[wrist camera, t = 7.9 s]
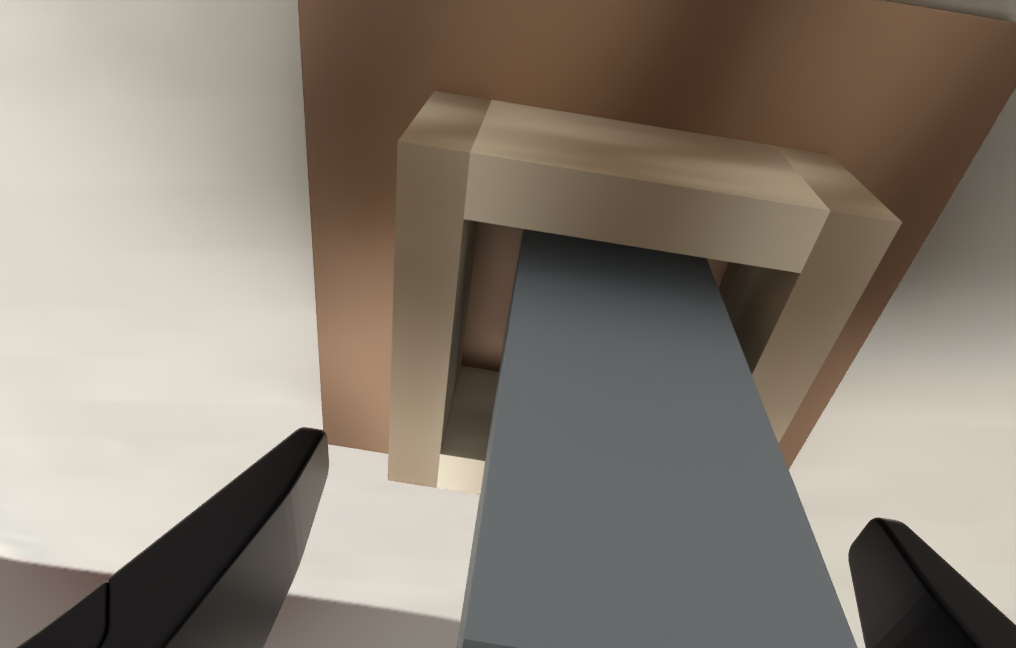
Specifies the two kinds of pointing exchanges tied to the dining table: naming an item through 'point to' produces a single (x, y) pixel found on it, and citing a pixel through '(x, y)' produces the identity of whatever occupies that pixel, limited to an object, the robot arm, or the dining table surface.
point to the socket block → (619, 183)
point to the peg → (635, 471)
